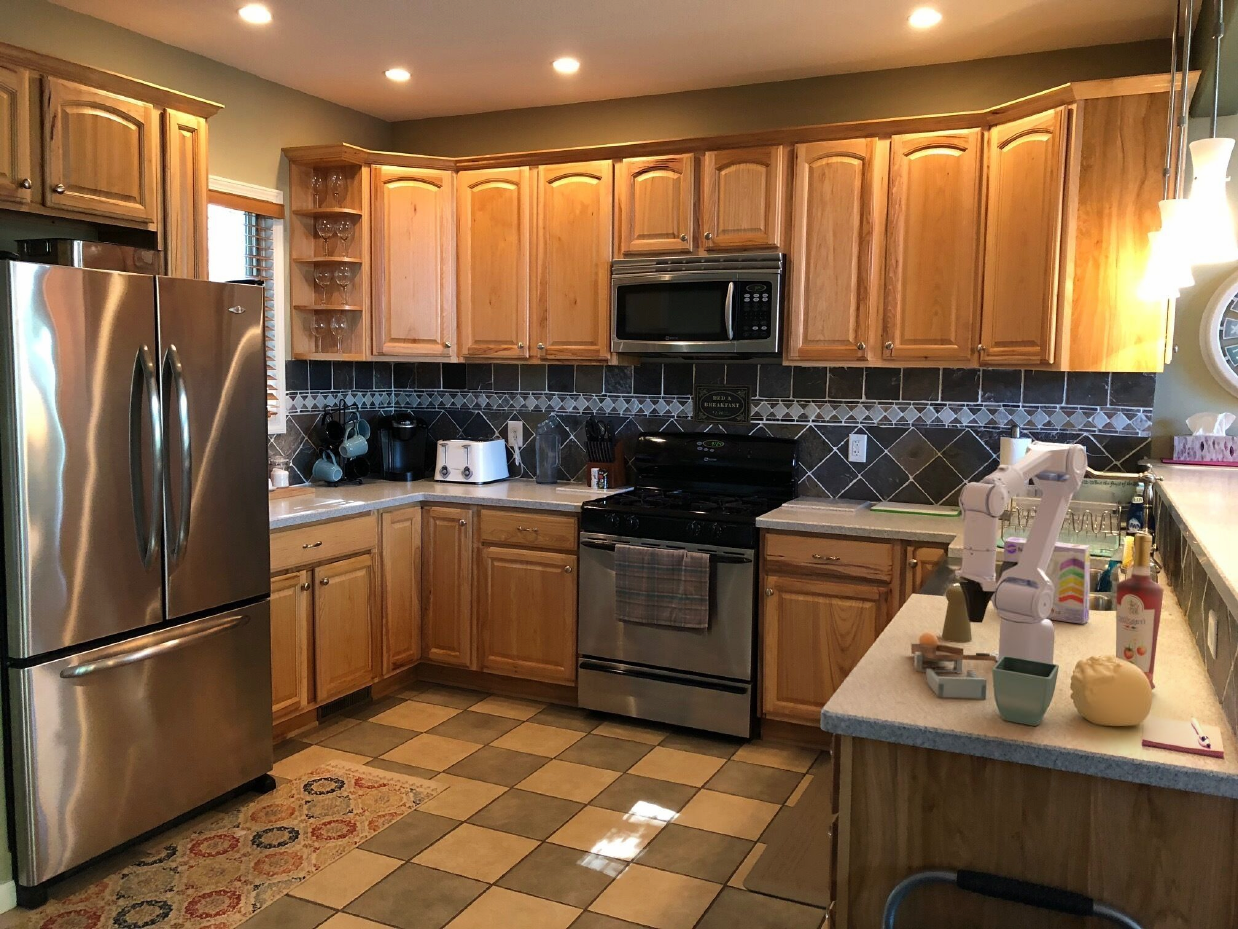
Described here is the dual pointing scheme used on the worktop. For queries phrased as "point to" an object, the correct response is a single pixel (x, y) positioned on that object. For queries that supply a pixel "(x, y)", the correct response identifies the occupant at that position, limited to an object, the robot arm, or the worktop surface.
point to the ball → (928, 640)
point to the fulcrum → (920, 668)
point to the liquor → (1139, 612)
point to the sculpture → (1110, 691)
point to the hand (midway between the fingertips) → (975, 621)
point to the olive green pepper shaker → (956, 617)
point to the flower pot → (1023, 688)
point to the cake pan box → (1060, 577)
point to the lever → (947, 653)
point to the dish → (957, 686)
